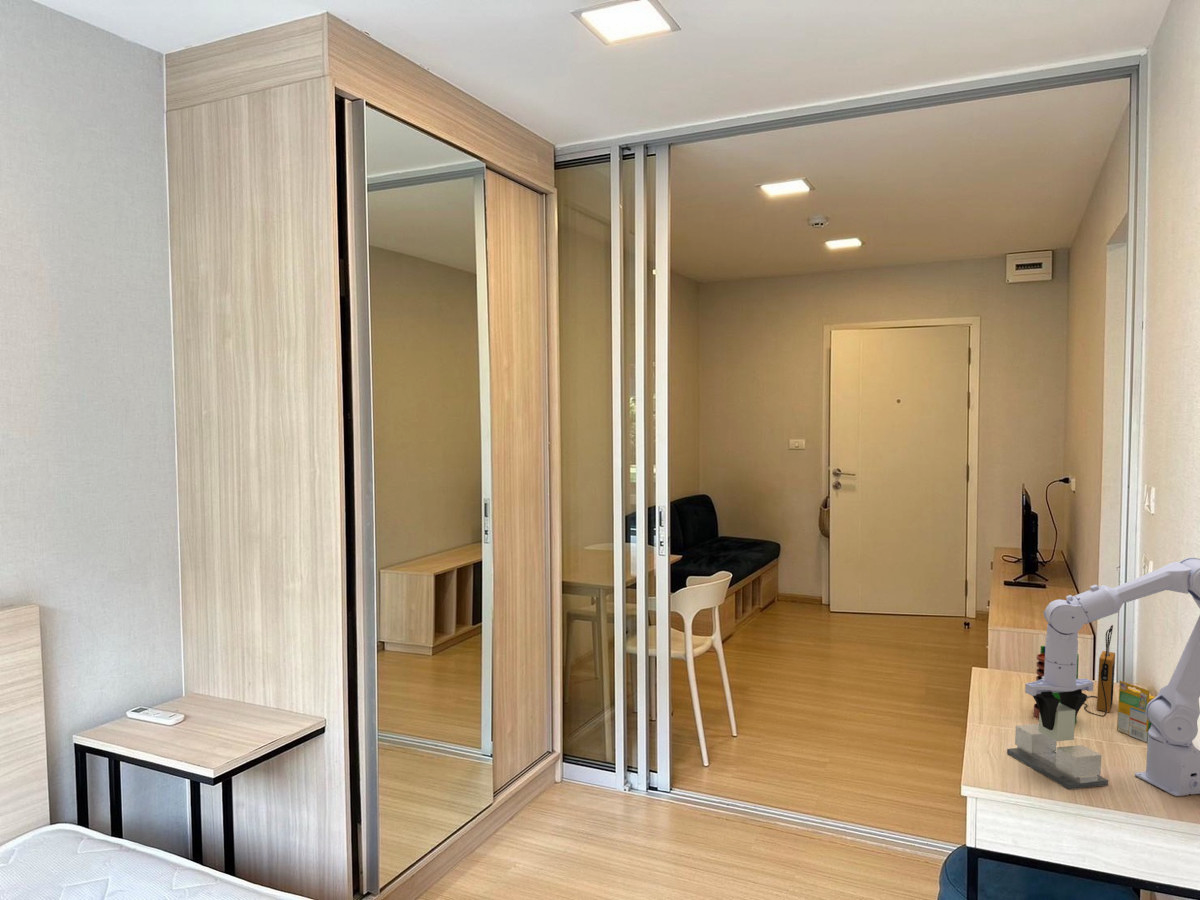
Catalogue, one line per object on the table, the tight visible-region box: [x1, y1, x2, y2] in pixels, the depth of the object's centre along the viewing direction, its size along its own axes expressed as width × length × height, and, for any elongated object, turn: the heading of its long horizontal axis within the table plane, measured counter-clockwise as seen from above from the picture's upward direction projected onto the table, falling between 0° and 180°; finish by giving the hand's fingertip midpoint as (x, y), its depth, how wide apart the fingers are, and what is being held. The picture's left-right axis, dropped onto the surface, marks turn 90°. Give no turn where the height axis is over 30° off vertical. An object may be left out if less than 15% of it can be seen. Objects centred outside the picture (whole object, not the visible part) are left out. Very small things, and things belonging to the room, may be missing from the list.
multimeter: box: [1083, 624, 1116, 717], centre depth 211 cm, size 15×10×20 cm
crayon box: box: [1116, 680, 1156, 743], centre depth 192 cm, size 7×3×12 cm, turn 20°
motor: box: [1033, 645, 1080, 724], centre depth 202 cm, size 10×9×20 cm
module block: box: [1038, 703, 1076, 742], centre depth 174 cm, size 5×4×6 cm
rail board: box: [1006, 723, 1109, 790], centre depth 174 cm, size 17×9×6 cm, turn 14°
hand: (1057, 727), depth 174 cm, fingers closed on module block, 4 cm apart
